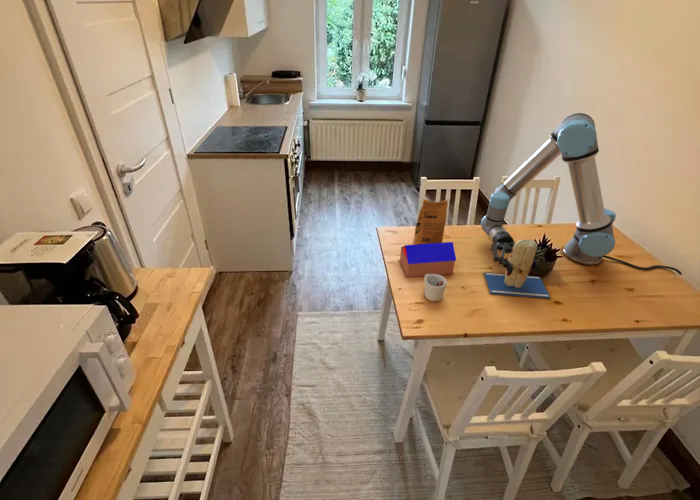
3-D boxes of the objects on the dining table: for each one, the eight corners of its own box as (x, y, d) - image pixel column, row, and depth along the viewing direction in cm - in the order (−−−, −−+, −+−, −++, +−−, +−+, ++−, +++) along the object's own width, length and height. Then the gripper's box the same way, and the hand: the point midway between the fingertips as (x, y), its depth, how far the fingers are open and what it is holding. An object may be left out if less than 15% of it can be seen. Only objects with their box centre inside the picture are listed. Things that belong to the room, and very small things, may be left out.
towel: (539, 277, 157) (539, 276, 156) (549, 298, 146) (550, 297, 145) (484, 273, 158) (484, 272, 158) (490, 293, 147) (491, 292, 147)
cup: (414, 288, 149) (417, 271, 145) (432, 284, 152) (435, 267, 147) (429, 306, 141) (432, 289, 136) (447, 301, 143) (451, 284, 139)
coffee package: (413, 236, 181) (418, 194, 169) (439, 238, 181) (447, 195, 169) (414, 248, 173) (420, 204, 161) (442, 250, 172) (450, 206, 160)
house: (453, 273, 158) (458, 250, 151) (406, 277, 155) (409, 253, 148) (443, 257, 168) (447, 234, 161) (398, 260, 165) (401, 237, 158)
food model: (519, 277, 156) (533, 235, 144) (529, 287, 150) (544, 244, 139) (497, 280, 153) (510, 238, 142) (507, 291, 148) (521, 247, 137)
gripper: (524, 245, 164) (550, 277, 145) (473, 246, 163) (493, 279, 144) (529, 230, 160) (557, 261, 141) (477, 231, 158) (498, 262, 140)
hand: (525, 270), depth 143 cm, fingers closed on food model, 10 cm apart
